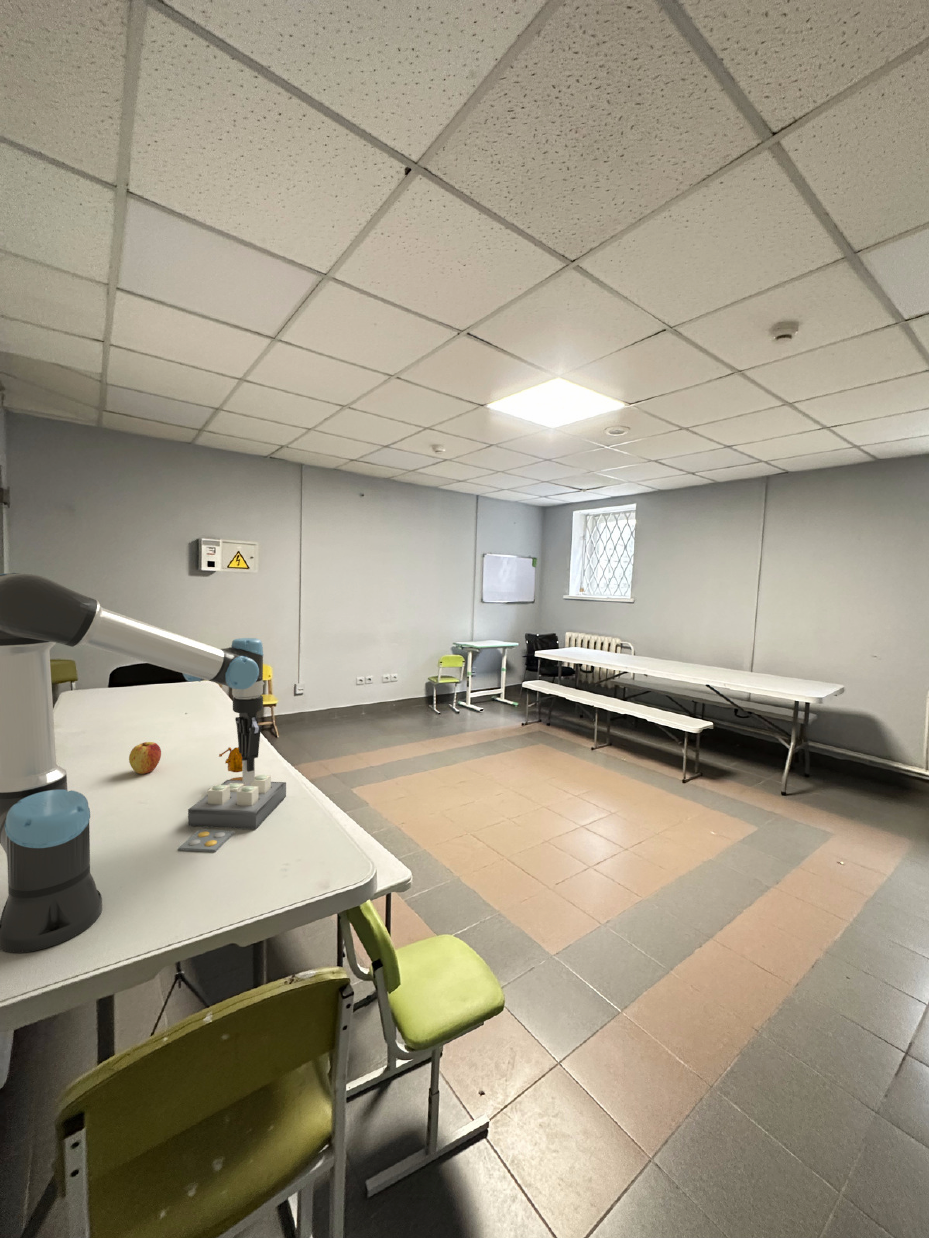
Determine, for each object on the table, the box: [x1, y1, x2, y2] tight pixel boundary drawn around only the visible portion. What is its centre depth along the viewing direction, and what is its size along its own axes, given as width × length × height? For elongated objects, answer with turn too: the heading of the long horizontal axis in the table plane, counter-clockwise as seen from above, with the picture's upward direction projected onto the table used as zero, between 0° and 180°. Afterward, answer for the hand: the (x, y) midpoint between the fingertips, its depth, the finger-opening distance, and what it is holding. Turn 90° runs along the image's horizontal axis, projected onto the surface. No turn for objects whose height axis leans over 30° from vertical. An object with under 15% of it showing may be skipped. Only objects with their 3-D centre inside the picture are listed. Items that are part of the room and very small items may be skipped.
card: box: [177, 828, 235, 853], centre depth 123 cm, size 9×9×1 cm
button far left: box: [229, 783, 244, 792], centre depth 144 cm, size 4×4×4 cm
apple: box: [128, 741, 162, 775], centre depth 165 cm, size 9×9×10 cm
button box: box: [187, 779, 287, 830], centre depth 140 cm, size 20×18×4 cm
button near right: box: [237, 786, 258, 806], centre depth 135 cm, size 4×4×4 cm
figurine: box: [218, 746, 243, 780], centre depth 158 cm, size 8×11×12 cm
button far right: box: [251, 774, 272, 794], centre depth 143 cm, size 4×4×4 cm
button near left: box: [207, 784, 230, 805], centre depth 136 cm, size 4×4×4 cm
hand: (248, 781), depth 135 cm, fingers closed
